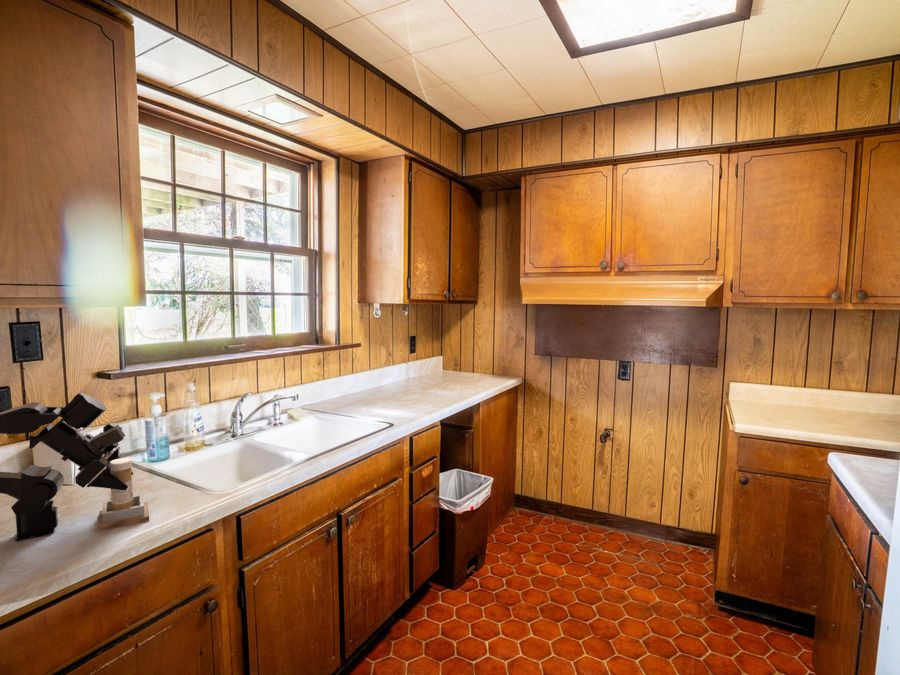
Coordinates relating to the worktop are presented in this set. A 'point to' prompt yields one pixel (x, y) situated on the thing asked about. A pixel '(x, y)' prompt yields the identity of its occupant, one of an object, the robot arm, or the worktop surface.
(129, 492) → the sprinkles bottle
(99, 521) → the baseplate
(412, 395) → the worktop surface
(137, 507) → the collar
